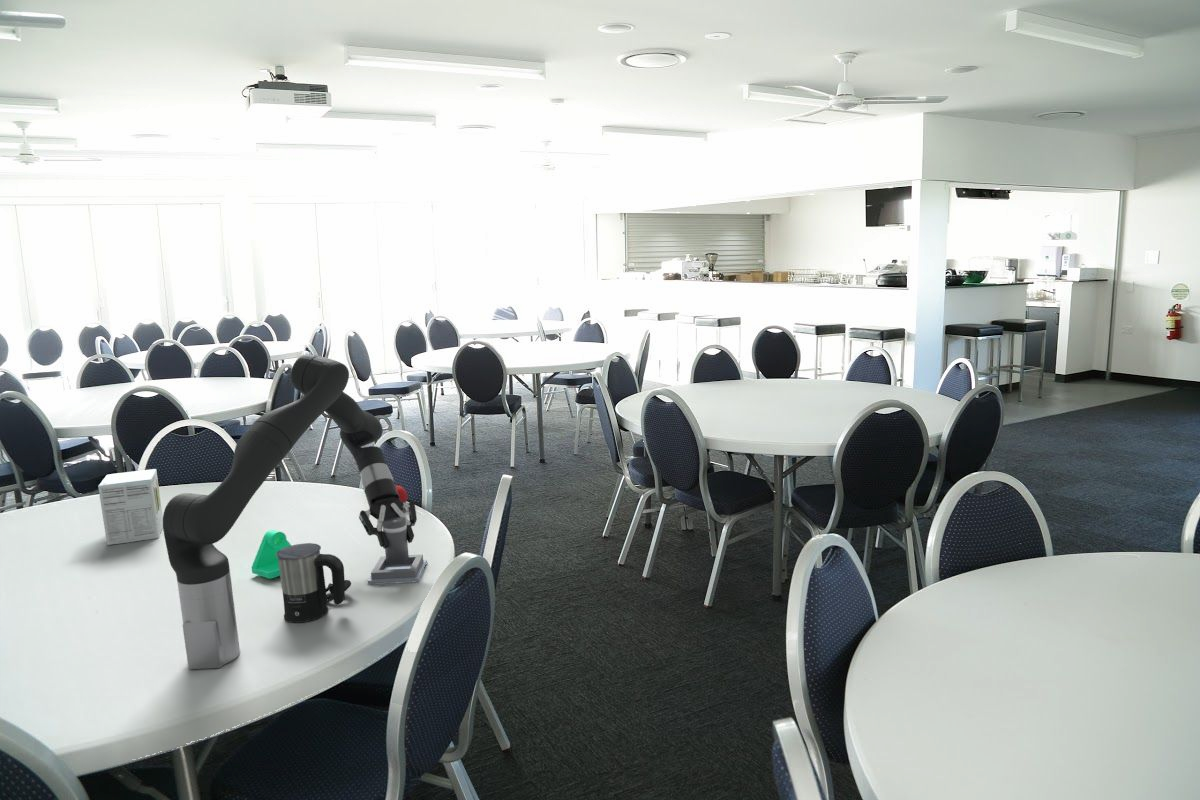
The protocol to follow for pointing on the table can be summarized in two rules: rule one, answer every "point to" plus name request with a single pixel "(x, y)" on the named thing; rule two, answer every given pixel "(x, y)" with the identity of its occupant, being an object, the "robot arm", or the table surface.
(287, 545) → the camera mount
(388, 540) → the grey canister
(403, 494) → the tomato
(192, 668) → the robot arm
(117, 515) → the supplement box
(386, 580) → the collar plate
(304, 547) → the milk frother
